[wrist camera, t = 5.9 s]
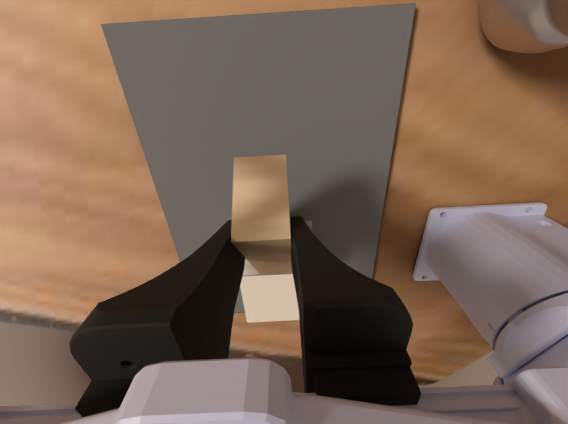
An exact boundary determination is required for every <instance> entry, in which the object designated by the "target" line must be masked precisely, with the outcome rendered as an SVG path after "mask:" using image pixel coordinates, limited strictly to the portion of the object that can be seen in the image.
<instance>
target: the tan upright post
mask: <svg viewBox="0 0 568 424" xmlns="http://www.w3.org/2000/svg"><path fill="white" fill-rule="evenodd" d="M305 222H306V224H307V225H308V227H309V228H310V230H311V231H312V221H305ZM312 232H313V231H312ZM231 243H232V244H233V245H234V246H235V247H236V248H237V249H238V251H240V252H241V253H242V254H243V255H244V257H245V266H244V272H243V276H242V277H244V276H264V275H283V274H293V273H292V267H291V233H290V216H289V198H288V181H287V163H286V155H269V156H252V157H235V158H234V170H233V198H232V226H231Z"/></svg>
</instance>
